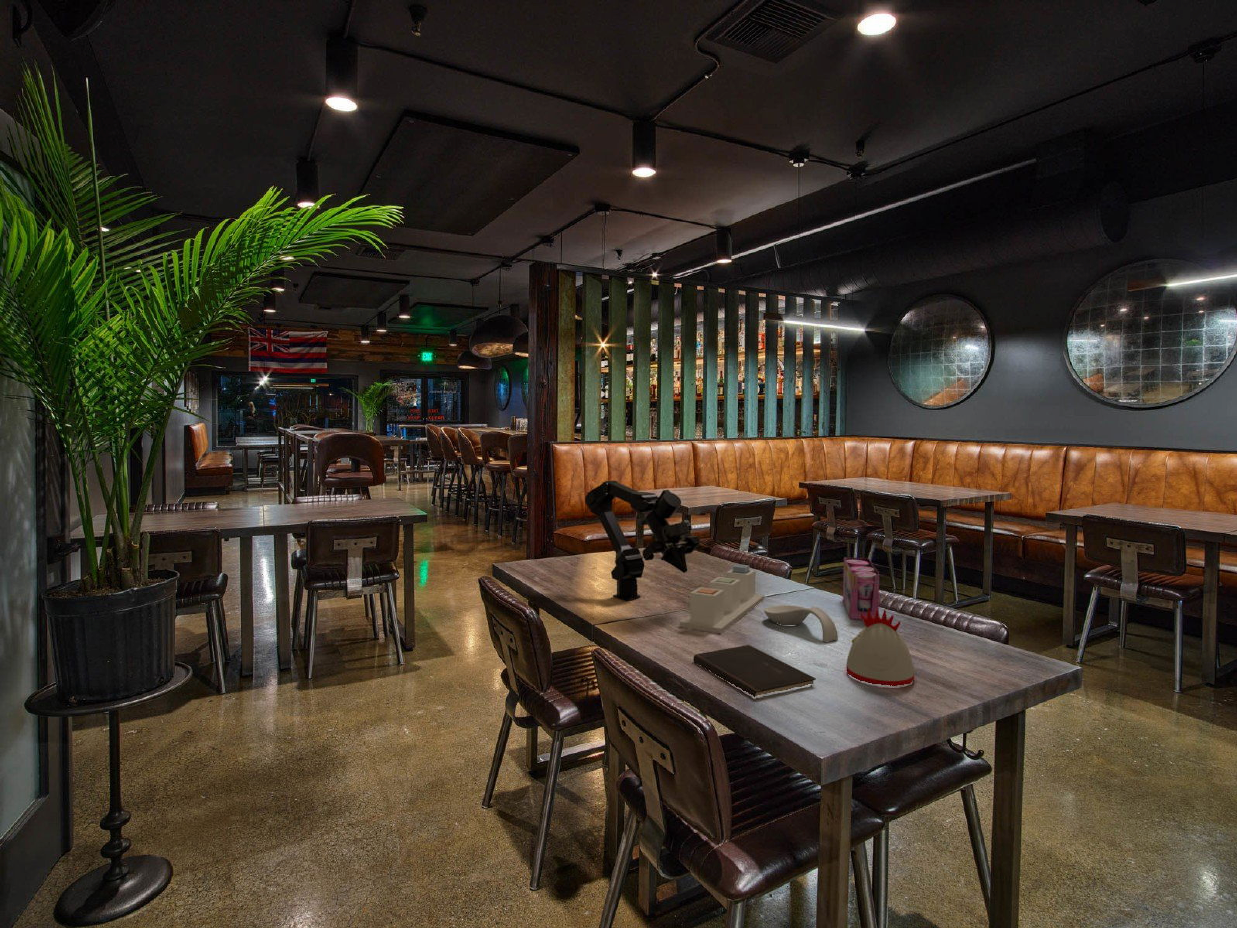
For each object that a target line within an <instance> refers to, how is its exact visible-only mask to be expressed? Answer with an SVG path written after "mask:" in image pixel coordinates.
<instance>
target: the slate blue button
mask: <svg viewBox="0 0 1237 928" xmlns="http://www.w3.org/2000/svg"><path fill="white" fill-rule="evenodd" d="M732 569H733V572H734V573H743V574H747V573H749V570H750V564H749V565H746V564H741V563H737V564H735V565H733V566H732Z"/></svg>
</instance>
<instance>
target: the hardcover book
mask: <svg viewBox="0 0 1237 928" xmlns="http://www.w3.org/2000/svg"><path fill="white" fill-rule="evenodd" d="M692 661H694V662H695V664H696V663H698V664H699V665H701V666H702V667H704V668H706V669H707V670H710V671H711V672H712V673H714V674H716V675H717V676H719V677H721V678H723V679H724V680H726V681H728V682H730V683H731V684H734V685H735V686H736V687H739V688H741V689H742V690H743V691H746V692H748V693H749V694H751V695H753V696H754V697H755V696H757V695H761V694H767V693H771V692H775V691H783V690H788V689H791V688H794V687H802V686H805V685H808V684H813V685H814V681H816V680H817V678H816V677H814V676H812V675H810V674H808V673H806V672H804V671H802V670H800V669H798V668H796V667H794V666H791V665H789V664H788V663H785V662H784V661H782V660H780V659H778V658H776V657H774V656H772V655H771V654H768V653H766V652H764V651H762V650H760V649H758V648H756V647H754V646H752V645H750V644H747V645H740V646H735V647H730V648H729V647H728V648H723V649H719V650H718V649H717V650H714V651H713V650H712V651H708V652H702V653H700V652H699V653H696V654H694V656H693V660H692ZM694 662H693V663H694ZM699 665H698V666H699ZM701 666H700V667H701ZM702 667H701V668H702ZM704 668H703V669H704ZM706 669H705V670H706ZM707 670H706V671H707ZM712 673H711V674H712ZM714 674H713V675H714ZM717 676H716V677H717Z"/></svg>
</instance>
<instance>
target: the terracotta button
mask: <svg viewBox="0 0 1237 928" xmlns="http://www.w3.org/2000/svg"><path fill="white" fill-rule="evenodd" d="M706 588H707V587H704V588H703V589H701V590H699V591H698V593H704V594H711V595H713V594H715V593H716V592H717V590H713V589H706Z"/></svg>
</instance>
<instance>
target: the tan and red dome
mask: <svg viewBox="0 0 1237 928" xmlns="http://www.w3.org/2000/svg"><path fill="white" fill-rule="evenodd" d="M861 617H862V620H861V621H863V624H864V625H865V627H864V628H863V629H862V630H861V631H859V633H858V634H857V635H856V636H855V637H854V638H853V639H852V640H851V643H852V644H851V646H850V649H849V652H848V654H847V659H846V670H845V671H847V673H848V674H849V675H851V676H852V677H854V678H856V679H858V680H860V681H865V682H868V683H872V684H881V685H890V686H891V685H892V686H897V685H904V684H910V683H911V682H912V681H913V680H914V681H915V669H914V664H913V659H912V657H911V654H910V653H911V652H910V650H909V647H908V645H907V643H906V642H905V640H904V638H903V637H902V635H901V634H900V633H899V632H898V631H897V630H898V629H899V627H900V625H901V620H899V621H897V623H896V624H895V625H894V624H893V620H894V614H891V616H889V618H887V611H886V608H884V609H883V613H882V617H881V618H880V611H878V608H877V611H876V614H875V617H874V618H872V616H871V613H870V610H869V608H868V613H867V618H865V617H864V616H863V614H862V613H861ZM847 673H846V674H847ZM848 674H847V675H848Z"/></svg>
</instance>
